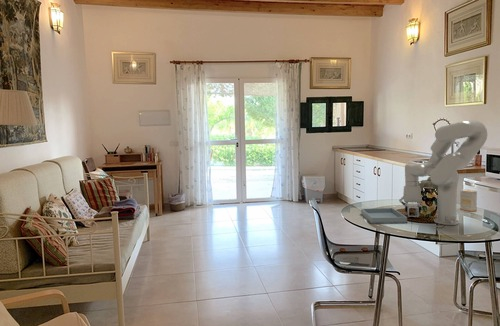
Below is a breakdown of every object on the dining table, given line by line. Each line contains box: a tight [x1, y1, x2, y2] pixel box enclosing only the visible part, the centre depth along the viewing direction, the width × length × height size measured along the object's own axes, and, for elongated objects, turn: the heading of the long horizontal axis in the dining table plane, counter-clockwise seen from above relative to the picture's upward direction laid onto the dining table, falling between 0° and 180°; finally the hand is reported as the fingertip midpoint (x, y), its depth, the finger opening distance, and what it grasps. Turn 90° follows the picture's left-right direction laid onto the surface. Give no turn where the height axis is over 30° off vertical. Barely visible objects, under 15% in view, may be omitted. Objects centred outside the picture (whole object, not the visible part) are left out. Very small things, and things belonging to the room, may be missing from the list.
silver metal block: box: [407, 202, 420, 218], centre depth 217 cm, size 12×6×6 cm, turn 157°
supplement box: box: [459, 188, 478, 213], centre depth 227 cm, size 8×5×13 cm, turn 22°
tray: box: [360, 207, 408, 225], centre depth 216 cm, size 24×20×4 cm
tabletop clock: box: [419, 175, 438, 192], centre depth 242 cm, size 14×9×25 cm, turn 90°
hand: (412, 212), depth 218 cm, fingers closed on silver metal block, 6 cm apart
